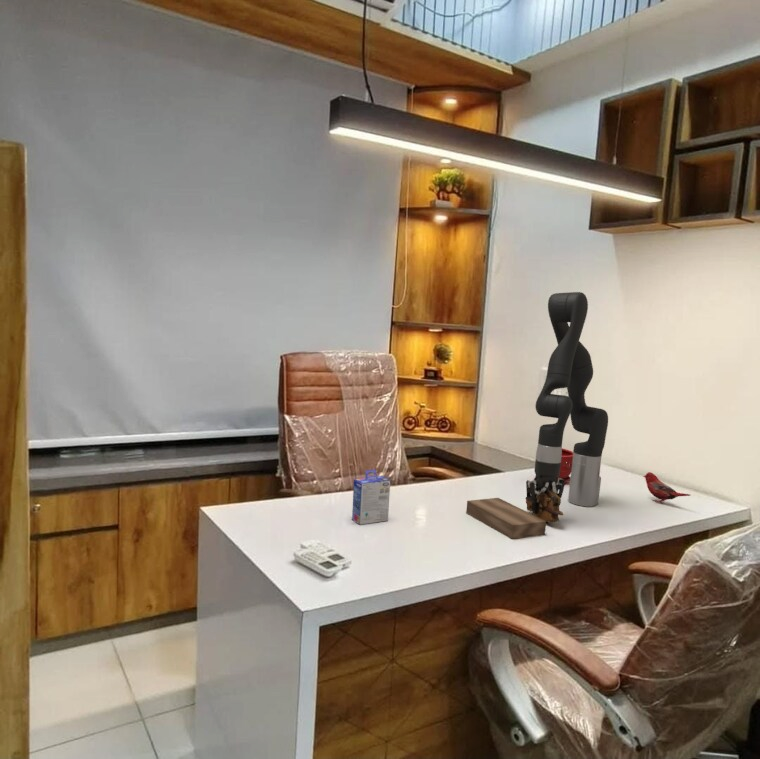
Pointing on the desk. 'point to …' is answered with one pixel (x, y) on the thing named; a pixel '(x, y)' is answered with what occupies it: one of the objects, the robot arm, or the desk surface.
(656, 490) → the decorative bird figurine
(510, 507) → the walnut plinth
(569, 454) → the plant pot
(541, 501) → the wooden carving
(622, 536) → the desk surface
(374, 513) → the ink cartridge box
